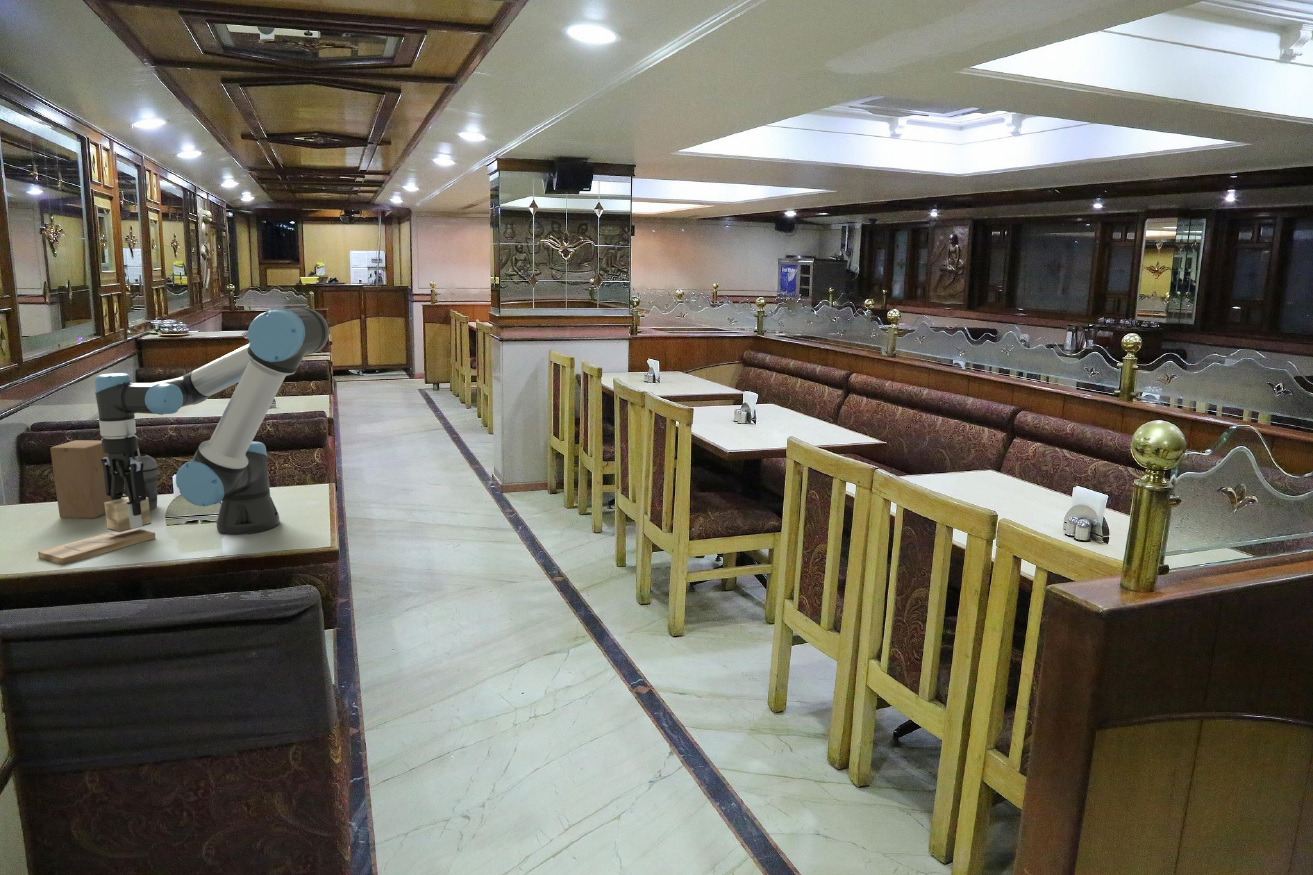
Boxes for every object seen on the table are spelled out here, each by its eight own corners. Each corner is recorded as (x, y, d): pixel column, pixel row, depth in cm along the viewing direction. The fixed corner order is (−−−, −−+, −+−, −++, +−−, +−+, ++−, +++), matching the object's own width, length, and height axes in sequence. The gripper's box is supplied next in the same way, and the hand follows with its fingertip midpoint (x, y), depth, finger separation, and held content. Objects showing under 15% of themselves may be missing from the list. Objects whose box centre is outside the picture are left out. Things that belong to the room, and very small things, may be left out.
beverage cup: (167, 507, 241) (160, 439, 237) (140, 513, 235) (132, 443, 231) (155, 503, 245) (147, 436, 241) (128, 508, 239) (120, 440, 235)
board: (155, 538, 214) (154, 532, 214) (63, 564, 195) (62, 558, 194) (131, 532, 218) (130, 526, 218) (38, 557, 199) (37, 551, 199)
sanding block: (151, 523, 215) (148, 497, 214) (119, 532, 208) (116, 505, 207) (139, 521, 217) (136, 495, 216) (107, 529, 210) (104, 502, 209)
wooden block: (94, 519, 229) (85, 447, 226) (59, 518, 230) (49, 447, 226) (118, 508, 239) (110, 440, 235) (84, 508, 239) (75, 439, 236)
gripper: (156, 436, 207) (166, 526, 212) (112, 429, 215) (122, 516, 220) (126, 442, 201) (136, 535, 206) (81, 434, 209) (92, 524, 213)
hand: (129, 525), depth 213 cm, fingers closed on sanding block, 5 cm apart
